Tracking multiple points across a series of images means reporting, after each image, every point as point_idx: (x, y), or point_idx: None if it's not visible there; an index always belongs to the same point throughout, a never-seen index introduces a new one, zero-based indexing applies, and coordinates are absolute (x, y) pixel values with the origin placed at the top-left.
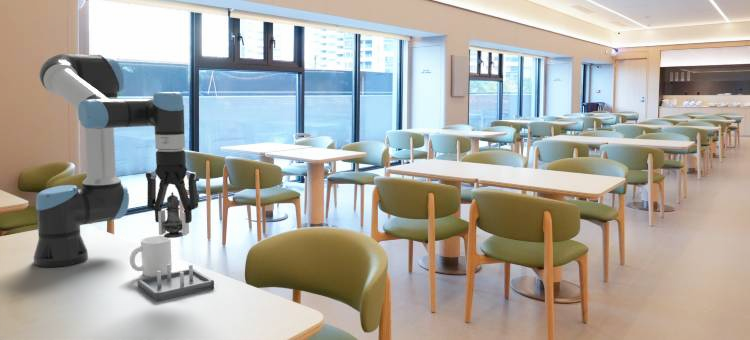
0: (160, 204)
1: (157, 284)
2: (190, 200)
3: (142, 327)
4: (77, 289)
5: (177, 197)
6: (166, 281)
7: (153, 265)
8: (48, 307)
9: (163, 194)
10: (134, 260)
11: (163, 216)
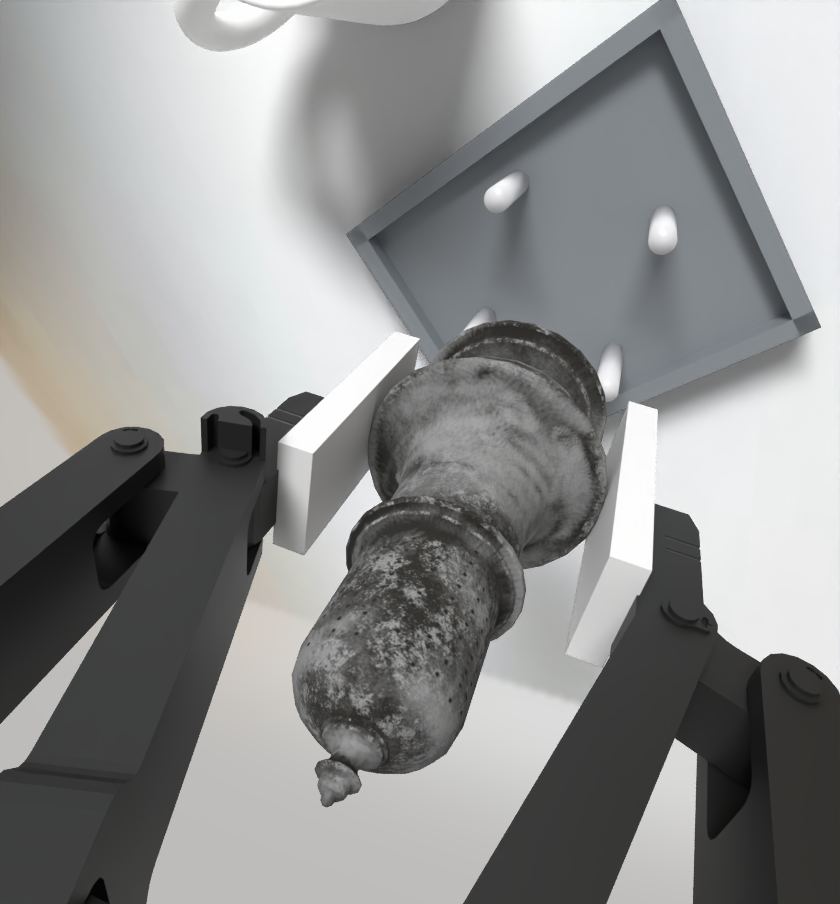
0: (245, 577)
1: (466, 271)
2: (703, 863)
3: (502, 647)
4: (113, 217)
5: (450, 724)
6: (507, 222)
7: (370, 21)
8: (136, 411)
9: (195, 699)
10: (230, 31)
11: (343, 458)
